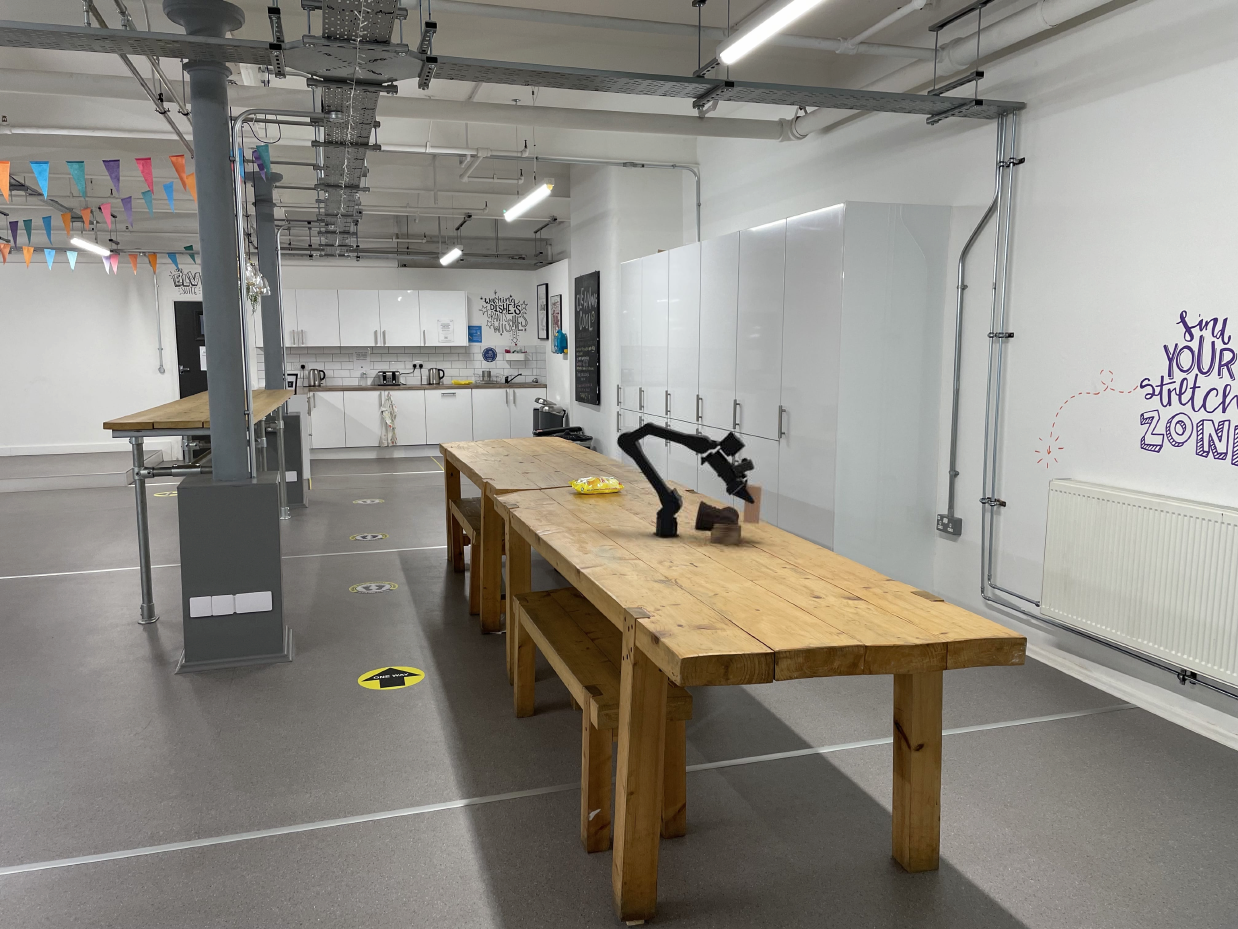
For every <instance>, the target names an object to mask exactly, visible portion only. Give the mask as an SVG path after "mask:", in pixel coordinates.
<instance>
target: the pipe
mask: <svg viewBox="0 0 1238 929" xmlns="http://www.w3.org/2000/svg"><path fill="white" fill-rule="evenodd" d="M739 520H740V514H739V512H738V510H737V509H736V508H734V507H732V506H725V507H722V508H720V507H716V506H713V505H712V504H708V503H706V502H704V501H703V500H701V501H699V506H698V509H697V512H696V519H695V526H694V528H695V529H703V530H707V529H709V530H712V529H713V528H714V524H723V525H737V526H739Z"/></svg>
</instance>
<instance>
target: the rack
mask: <svg viewBox="0 0 1238 929" xmlns="http://www.w3.org/2000/svg"><path fill="white" fill-rule="evenodd" d="M741 537H742V525H738V526H737V525H723V524H714V528H713V529H711V531H710V539H709V543H710V544H717V543H719V544H720V545H723V544H724V545H731V546H732V545H733V546H739V544H740V541H741ZM739 540H740V541H739Z"/></svg>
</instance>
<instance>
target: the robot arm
mask: <svg viewBox="0 0 1238 929" xmlns="http://www.w3.org/2000/svg"><path fill="white" fill-rule="evenodd" d="M647 436H653V437H656V438H659V439H663V440H666V441H669V442H673V443H675V444H680V445H682V446H683V447H685V448H687V449H689V450H691V451H692V452H694V453H696V454H699V455H705V454H706V455H705V456H700V466H704V465H705V464H706V463H707V464H708V465H709V467H710V468H711V469H712V470H713V472H715V474H717V475H716V476H717V478H720V479H721V480H722V481H723V483H725V486H726V487H725V492H726V493H727V494H728V495H729V496H734V497H736V498H738V499H741V500H742V501H744V502H745V501H746V502H749V503H751V504H754V503H755V501H754V500H753V498H752V497H751V495H750V493H749V492H748V490H747V489H746V484H748V483H749V478H748V474H747V473H746V472H751V471H753V470H755V465H754V463H753V460H752V459H751V458H749V459H748V458H747V457H746V456H745V457H743V458H741V460H740V462H739V463H737V464H735V463H734V462H731V461H729V459H728V458H729V457H731V458H733V457H735V456H736V455H737V454H738V453H740V452H741V451H742V450H743V449H744V448H745V447H746V444H745V443H744V441H743V440H742V439H741V438H740V437H739V436H737V435H736V434H735V433H734V432H733V431H732V430H731V431H729V432H728V433H727V434H726V436H725V437H724V438H723V439H721V440H715V439H711V438H710V437H709V436H708V435H706V434H705V435H704V434H698V433H686V432H683V431H679V430H676V429H673V428H668V427H666V426H662V425H659V424H656V423H653V422H651V421H649V422H646V423H644V424H643V425H641V426H640V427H638V428H637V429H635V430H632V431H629V430H628V431H625V432H622V433H621V434H619V435H618V436H617V440H616V443H617V446H618V447H619V448H620V449H621V450H622V452H623V453H624V454H626V456H628V457H630V459H632V460H633V461H634V463H635V464H636V466H637V467H638V468H639V470H640V472H641V473H642V474H643V475H644V477H645V478H646V480H647V481H648V482H649V484H650V485H651V487H652V488H653V490H654V492H656V494H657V497H658V500H659V503H660V505H661V508H659V509H658V511H656V513H655V514H656V523H655V532H653V533H652V534H653V535H655V536H658V537H660V538H673V537H674V538H675V537H680V534H678V524H679V523H678V517H677V516H676V514H678V513H679V512H680V511H681V509H682V508H683V504H684V502H683V500H682V498H683V496H682V495H681V494H680V493H679V491H678V489H677V488H676V487H674V488H673V489H672V488H671V487H669V486H668V485H667V484H666V482H665V481H664V480H663V477H662V476H661V475H660V473H659V472H658V470H657V469H656V468H655V467H654V465H653V464H652V463H651V461H650V459H649V458H648V457H647V455H646V454H645V453H644V450H643V447H642V444H641V442H640V440H642V439H644V438H646V437H647ZM718 447H719V448H718ZM717 448H718V449H717ZM716 449H717V450H716ZM713 450H715V452H713ZM709 451H710V452H709ZM748 485H749V484H748Z"/></svg>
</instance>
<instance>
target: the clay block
mask: <svg viewBox="0 0 1238 929" xmlns="http://www.w3.org/2000/svg"><path fill="white" fill-rule="evenodd" d="M762 487H763V486H762V485H759V484H746V489H747V490H748V492H749V493H750V495H751V497H752V498H753V500H754V501H755V503H754V504H751V503H749V502H746V501H744V506H743V507H744V508H743V523H745V524H746V523H748V524H757V525H759V524H760V520H761V518H760V516H761V502H762V501H761V500H762V490H763V489H762Z"/></svg>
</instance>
